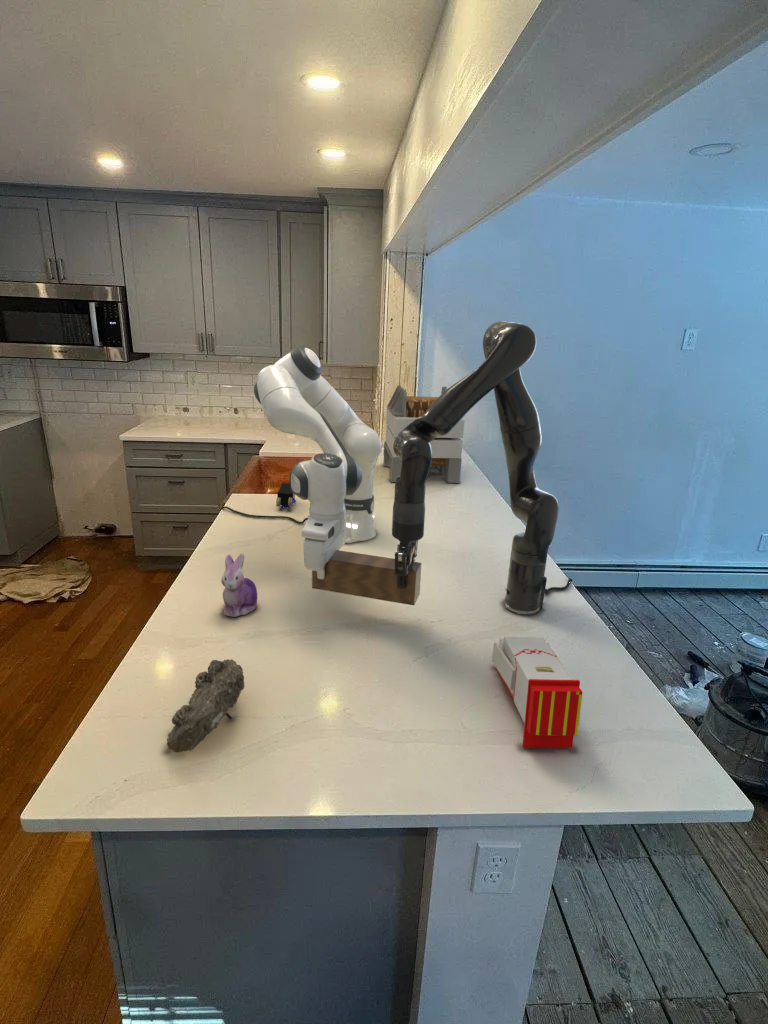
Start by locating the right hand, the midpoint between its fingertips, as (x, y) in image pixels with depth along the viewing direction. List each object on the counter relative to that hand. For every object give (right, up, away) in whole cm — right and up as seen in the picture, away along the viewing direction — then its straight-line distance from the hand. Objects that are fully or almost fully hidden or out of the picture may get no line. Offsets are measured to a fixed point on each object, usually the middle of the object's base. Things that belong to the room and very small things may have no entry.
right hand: (405, 581), depth 138 cm
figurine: (-42, -8, +8) cm, 44 cm away
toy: (+24, -22, -21) cm, 39 cm away
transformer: (+12, +36, +137) cm, 142 cm away
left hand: (-20, +2, +5) cm, 20 cm away
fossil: (-38, -22, -30) cm, 53 cm away
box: (-10, -3, +4) cm, 11 cm away
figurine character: (-43, +19, +84) cm, 96 cm away
